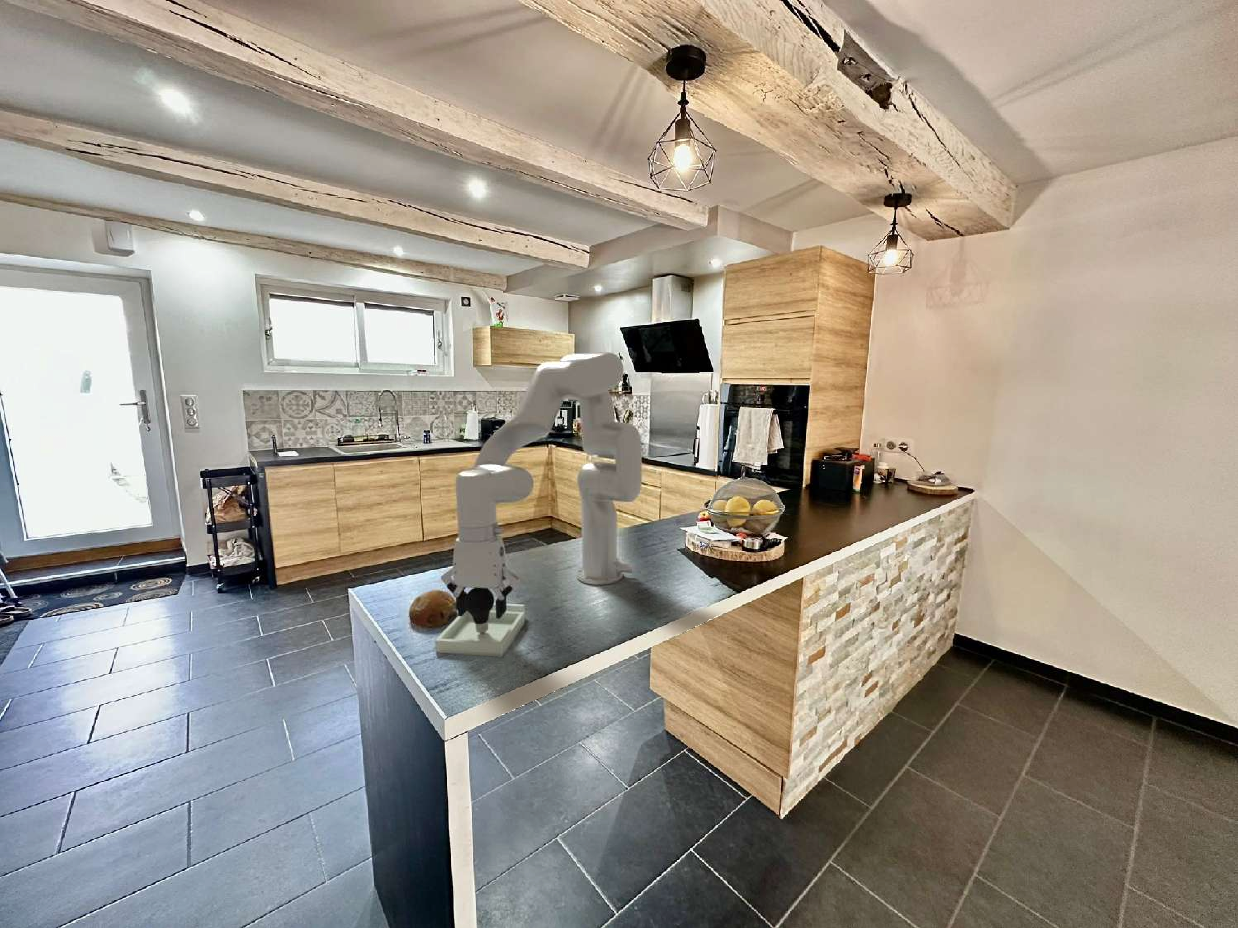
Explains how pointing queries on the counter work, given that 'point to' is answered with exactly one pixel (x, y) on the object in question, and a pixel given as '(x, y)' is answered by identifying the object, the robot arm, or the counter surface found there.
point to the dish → (480, 635)
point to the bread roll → (433, 609)
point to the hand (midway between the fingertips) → (481, 613)
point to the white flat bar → (512, 608)
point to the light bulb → (479, 607)
